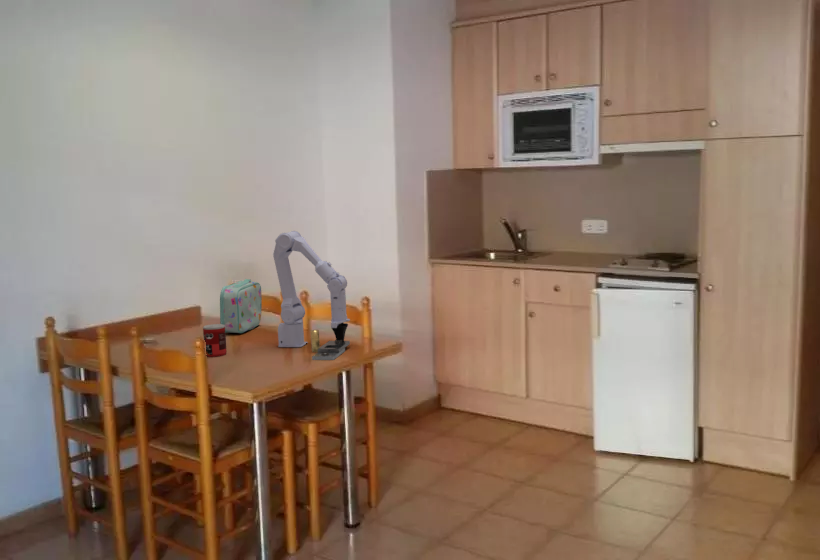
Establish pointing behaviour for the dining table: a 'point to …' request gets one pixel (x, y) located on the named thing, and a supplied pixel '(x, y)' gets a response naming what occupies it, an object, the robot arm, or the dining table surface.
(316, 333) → the brass pin
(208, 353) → the canned food
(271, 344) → the dining table surface
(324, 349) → the chain end upper
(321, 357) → the chain end lower
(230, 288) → the lunch box
